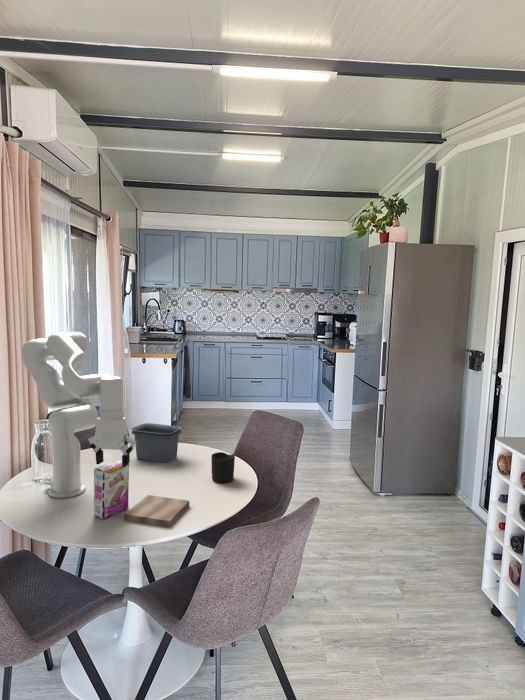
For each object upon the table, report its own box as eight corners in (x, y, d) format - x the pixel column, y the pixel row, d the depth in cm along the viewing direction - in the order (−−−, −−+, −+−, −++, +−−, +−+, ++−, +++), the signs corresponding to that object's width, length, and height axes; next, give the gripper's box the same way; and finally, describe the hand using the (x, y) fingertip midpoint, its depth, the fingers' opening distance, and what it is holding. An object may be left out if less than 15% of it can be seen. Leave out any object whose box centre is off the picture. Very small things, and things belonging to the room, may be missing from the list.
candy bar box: (103, 520, 151) (103, 471, 149) (93, 516, 153) (92, 468, 152) (129, 507, 160) (129, 461, 159) (119, 504, 163) (119, 459, 161)
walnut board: (124, 520, 151) (124, 514, 151) (147, 500, 167) (147, 495, 166) (169, 526, 147) (169, 520, 147) (189, 506, 163) (189, 500, 163)
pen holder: (229, 474, 194) (230, 451, 193) (237, 482, 186) (238, 458, 185) (208, 477, 191) (208, 453, 190) (215, 485, 182) (215, 460, 181)
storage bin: (127, 459, 209) (127, 428, 208) (147, 450, 223) (147, 420, 222) (168, 466, 202) (169, 434, 200) (186, 455, 216) (186, 425, 215)
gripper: (81, 414, 152) (83, 465, 153) (129, 418, 148) (130, 470, 149) (95, 410, 159) (96, 458, 161) (140, 413, 155) (141, 463, 156)
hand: (112, 464), depth 155 cm, fingers open, 9 cm apart
